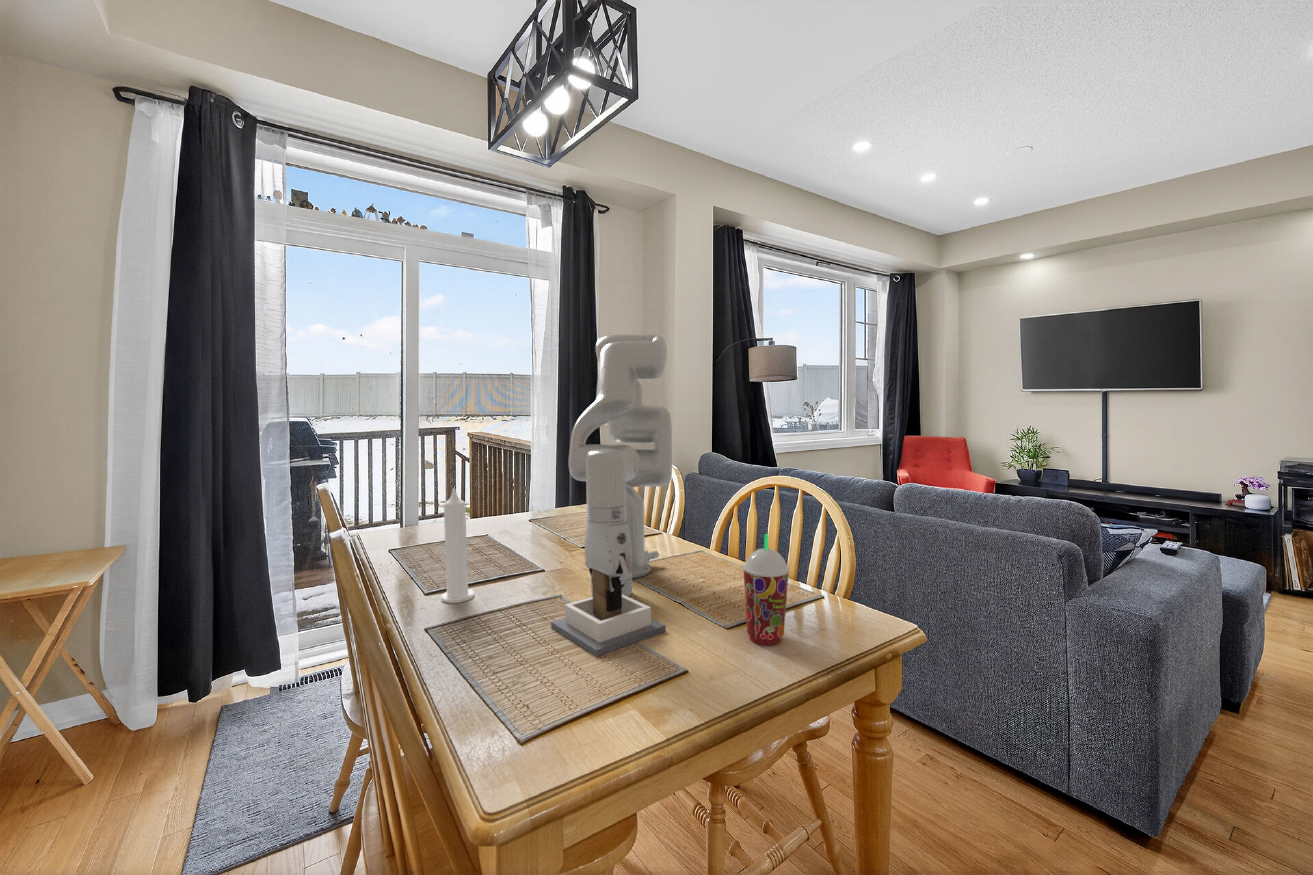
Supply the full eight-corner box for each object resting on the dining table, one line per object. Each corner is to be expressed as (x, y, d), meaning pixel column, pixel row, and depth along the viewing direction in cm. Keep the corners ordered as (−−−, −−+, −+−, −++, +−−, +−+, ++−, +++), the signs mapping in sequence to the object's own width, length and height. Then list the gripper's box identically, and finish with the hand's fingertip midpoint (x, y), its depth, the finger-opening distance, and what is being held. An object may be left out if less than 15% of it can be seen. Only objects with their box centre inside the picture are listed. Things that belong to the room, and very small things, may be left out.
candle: (463, 604, 123) (459, 491, 121) (434, 602, 125) (430, 490, 123) (480, 592, 130) (476, 486, 128) (452, 590, 132) (448, 485, 130)
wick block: (609, 608, 113) (609, 564, 112) (621, 614, 110) (621, 569, 109) (592, 613, 110) (592, 569, 109) (604, 620, 107) (604, 574, 106)
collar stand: (616, 607, 121) (616, 585, 121) (665, 631, 109) (665, 607, 109) (551, 627, 111) (550, 604, 111) (596, 656, 99) (596, 630, 99)
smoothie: (778, 653, 100) (780, 542, 98) (735, 642, 104) (736, 536, 103) (794, 635, 107) (795, 532, 105) (752, 626, 111) (753, 526, 110)
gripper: (648, 518, 104) (649, 614, 106) (598, 504, 117) (599, 590, 119) (616, 524, 100) (617, 625, 101) (566, 509, 112) (568, 599, 114)
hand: (607, 605), depth 110 cm, fingers closed on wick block, 3 cm apart
